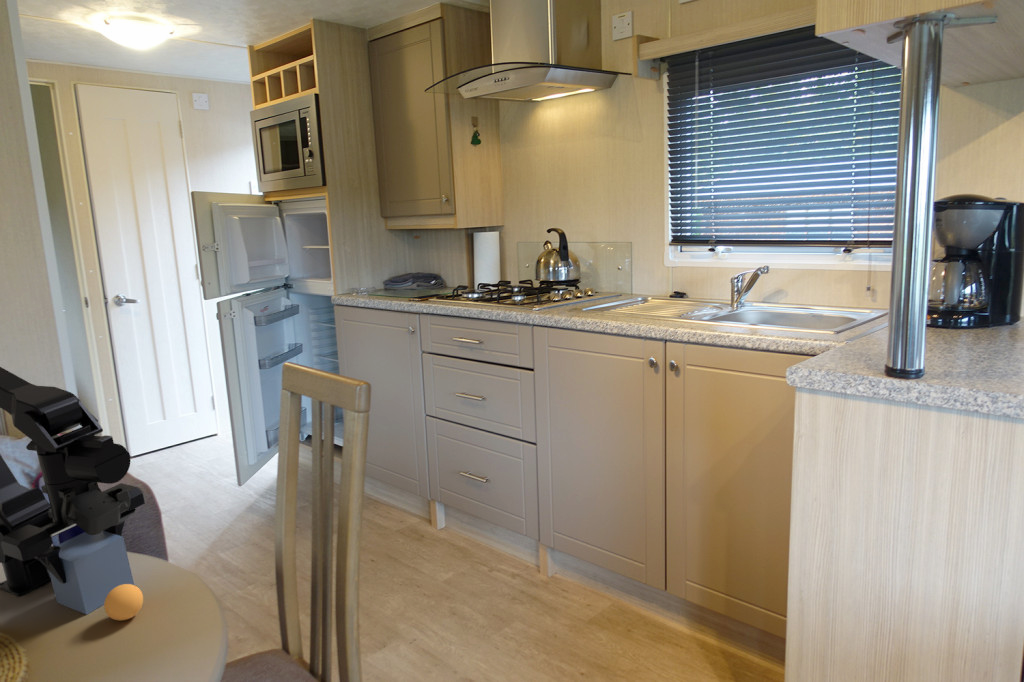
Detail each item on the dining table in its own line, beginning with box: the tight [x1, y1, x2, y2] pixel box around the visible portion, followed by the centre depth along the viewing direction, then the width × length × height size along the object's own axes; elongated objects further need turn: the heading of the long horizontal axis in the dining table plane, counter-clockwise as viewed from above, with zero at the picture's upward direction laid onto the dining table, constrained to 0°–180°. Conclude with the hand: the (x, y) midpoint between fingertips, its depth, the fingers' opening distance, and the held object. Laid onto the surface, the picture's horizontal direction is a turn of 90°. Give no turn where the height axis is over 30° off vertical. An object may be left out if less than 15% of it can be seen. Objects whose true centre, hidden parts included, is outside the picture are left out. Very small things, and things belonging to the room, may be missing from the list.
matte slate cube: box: [49, 531, 135, 615], centre depth 107 cm, size 8×8×9 cm
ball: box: [103, 584, 144, 621], centre depth 101 cm, size 5×5×5 cm
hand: (89, 568), depth 107 cm, fingers closed on matte slate cube, 8 cm apart
